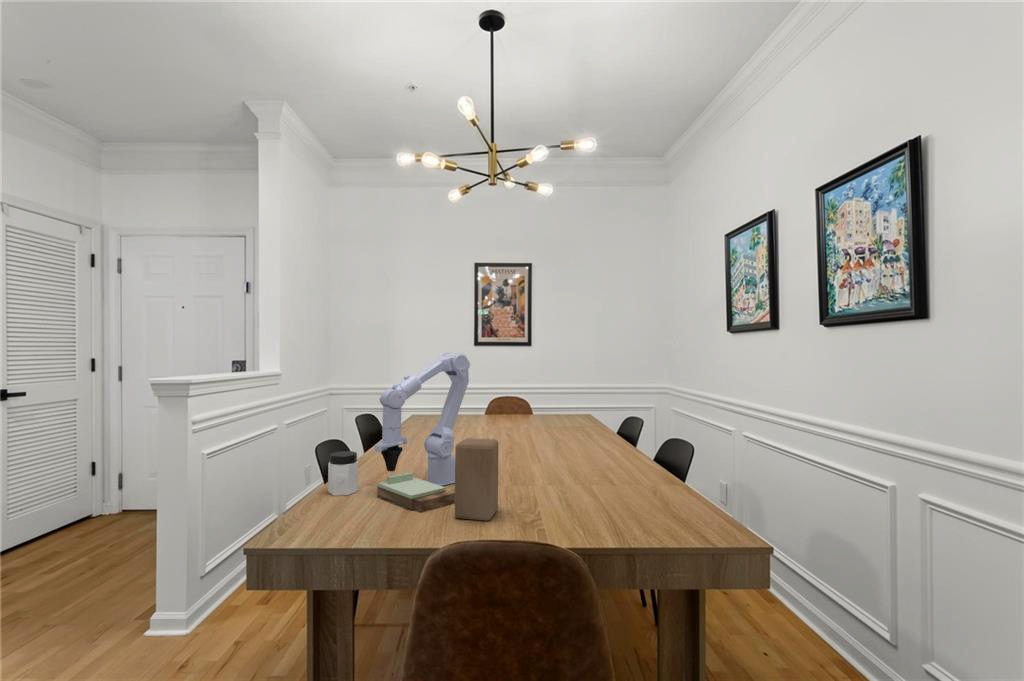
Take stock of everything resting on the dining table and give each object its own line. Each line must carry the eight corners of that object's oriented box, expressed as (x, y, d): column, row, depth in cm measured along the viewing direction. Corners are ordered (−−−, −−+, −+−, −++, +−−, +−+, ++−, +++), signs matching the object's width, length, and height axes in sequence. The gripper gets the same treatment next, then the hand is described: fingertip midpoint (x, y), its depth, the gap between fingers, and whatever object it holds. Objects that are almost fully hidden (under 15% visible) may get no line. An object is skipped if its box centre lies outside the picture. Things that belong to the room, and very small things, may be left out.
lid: (410, 479, 163) (410, 470, 163) (445, 490, 151) (445, 480, 151) (377, 486, 155) (377, 476, 155) (411, 499, 142) (411, 488, 142)
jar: (325, 496, 155) (325, 456, 155) (330, 488, 163) (331, 451, 163) (355, 495, 156) (356, 456, 156) (359, 488, 164) (360, 450, 164)
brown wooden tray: (426, 485, 167) (426, 476, 168) (467, 499, 153) (467, 489, 153) (377, 496, 155) (377, 487, 155) (417, 513, 140) (417, 502, 140)
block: (489, 522, 133) (490, 445, 134) (453, 519, 135) (454, 443, 136) (498, 510, 143) (499, 438, 143) (464, 507, 145) (465, 437, 145)
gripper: (388, 431, 152) (388, 477, 152) (415, 425, 166) (414, 467, 166) (369, 430, 155) (368, 474, 155) (396, 423, 168) (396, 465, 168)
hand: (391, 470), depth 160 cm, fingers closed
